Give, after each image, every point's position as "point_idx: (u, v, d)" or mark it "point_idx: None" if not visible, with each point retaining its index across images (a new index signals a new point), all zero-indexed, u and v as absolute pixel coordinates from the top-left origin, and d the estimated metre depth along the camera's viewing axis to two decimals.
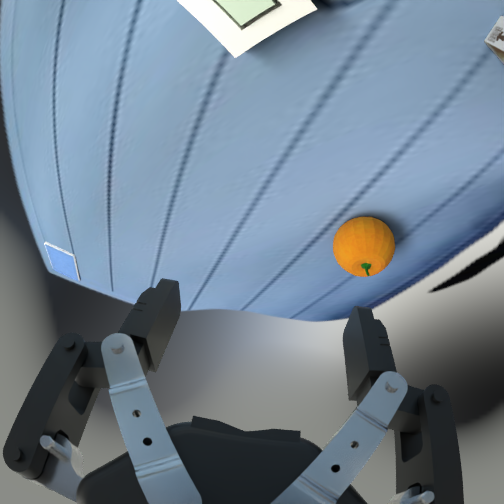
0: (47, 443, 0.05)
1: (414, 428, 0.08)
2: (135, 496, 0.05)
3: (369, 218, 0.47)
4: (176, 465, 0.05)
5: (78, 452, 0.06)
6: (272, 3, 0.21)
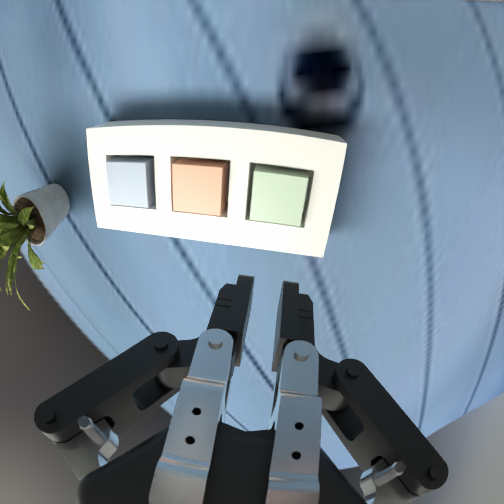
0: (85, 424, 0.06)
1: (342, 406, 0.09)
2: (136, 496, 0.05)
3: None
4: (176, 465, 0.05)
5: (114, 442, 0.07)
6: (305, 179, 0.23)
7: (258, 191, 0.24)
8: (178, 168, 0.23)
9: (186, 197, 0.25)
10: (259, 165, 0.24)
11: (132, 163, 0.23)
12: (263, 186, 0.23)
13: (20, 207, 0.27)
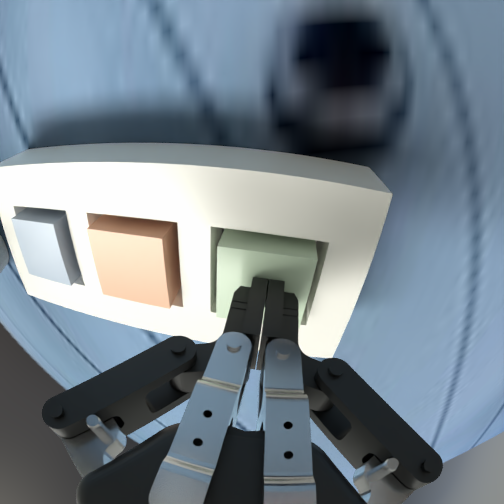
0: (93, 423, 0.06)
1: (328, 405, 0.09)
2: (136, 496, 0.05)
3: None
4: (176, 465, 0.05)
5: (121, 442, 0.07)
6: (312, 260, 0.13)
7: (228, 278, 0.14)
8: (96, 235, 0.13)
9: (116, 279, 0.15)
10: None
11: (38, 223, 0.13)
12: (235, 272, 0.13)
13: None
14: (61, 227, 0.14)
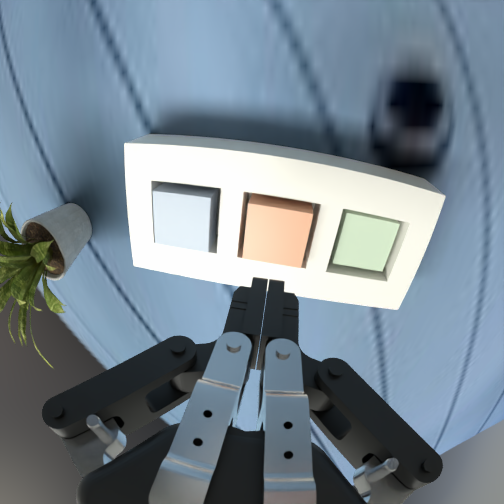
0: (93, 423, 0.06)
1: (328, 405, 0.09)
2: (136, 496, 0.05)
3: None
4: (176, 465, 0.05)
5: (121, 442, 0.07)
6: (396, 224, 0.20)
7: (348, 234, 0.21)
8: (256, 209, 0.19)
9: (262, 245, 0.21)
10: None
11: (191, 196, 0.20)
12: (353, 230, 0.21)
13: (31, 233, 0.23)
14: (212, 202, 0.20)
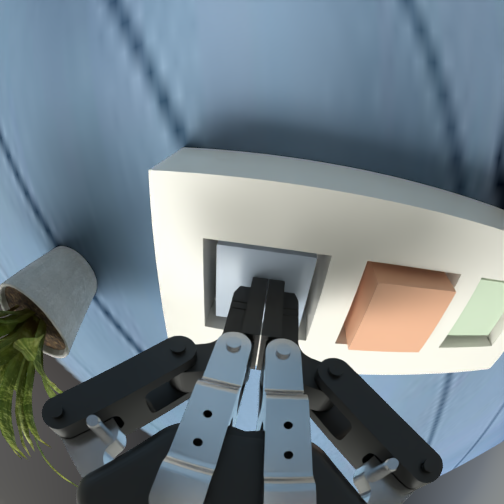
0: (93, 423, 0.06)
1: (328, 405, 0.09)
2: (135, 496, 0.05)
3: None
4: (176, 465, 0.05)
5: (121, 442, 0.07)
6: None
7: (472, 303, 0.13)
8: (387, 290, 0.11)
9: (381, 333, 0.13)
10: None
11: (286, 255, 0.12)
12: (478, 297, 0.13)
13: (12, 297, 0.15)
14: None
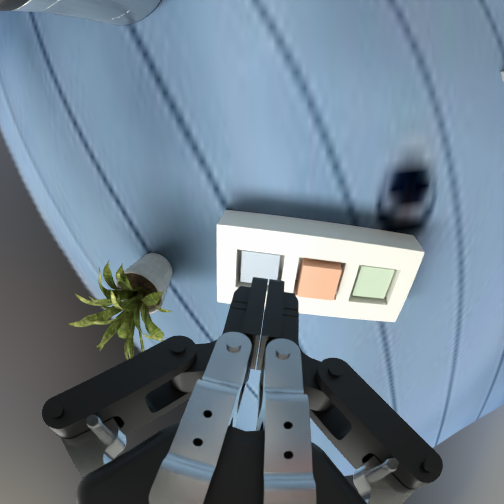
0: (93, 423, 0.06)
1: (328, 405, 0.09)
2: (135, 496, 0.05)
3: None
4: (176, 465, 0.05)
5: (121, 443, 0.07)
6: (392, 270, 0.32)
7: (362, 278, 0.33)
8: (307, 268, 0.32)
9: (310, 288, 0.33)
10: None
11: (268, 254, 0.33)
12: (365, 275, 0.32)
13: None
14: None
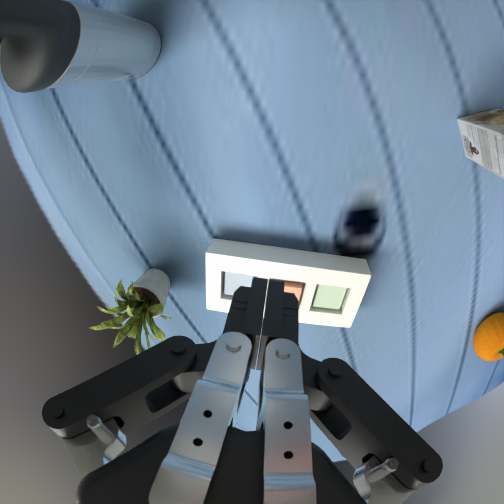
0: (93, 423, 0.06)
1: (328, 405, 0.09)
2: (136, 496, 0.05)
3: (486, 321, 0.44)
4: (176, 465, 0.05)
5: (121, 442, 0.07)
6: (345, 288, 0.42)
7: (320, 293, 0.43)
8: None
9: None
10: None
11: (245, 275, 0.43)
12: (322, 291, 0.43)
13: None
14: None
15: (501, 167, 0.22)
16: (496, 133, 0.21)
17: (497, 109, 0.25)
